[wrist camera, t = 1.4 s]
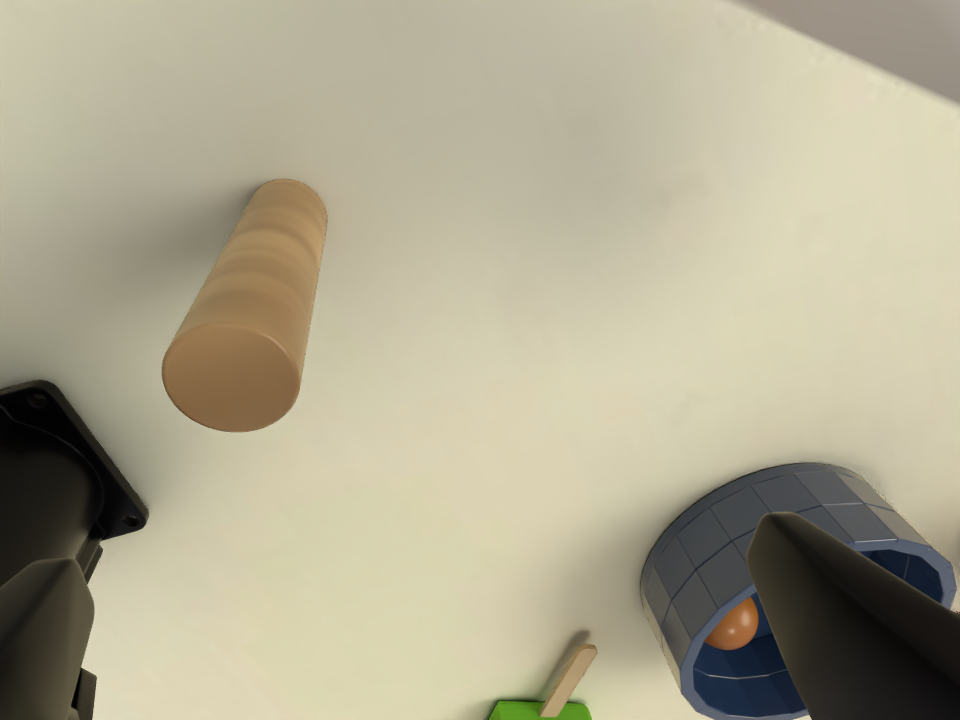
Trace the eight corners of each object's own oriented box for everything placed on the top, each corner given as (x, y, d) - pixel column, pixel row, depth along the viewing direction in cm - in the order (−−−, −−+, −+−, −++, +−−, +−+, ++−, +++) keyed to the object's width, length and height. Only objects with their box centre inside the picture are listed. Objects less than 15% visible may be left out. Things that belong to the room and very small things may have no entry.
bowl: (629, 507, 26) (673, 594, 23) (896, 431, 27) (984, 504, 23) (649, 663, 33) (686, 751, 29) (864, 601, 33) (929, 680, 29)
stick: (236, 190, 17) (133, 344, 10) (311, 169, 17) (269, 307, 10) (267, 260, 18) (198, 448, 11) (338, 240, 18) (318, 414, 11)
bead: (675, 575, 28) (705, 632, 26) (736, 558, 28) (773, 613, 26) (678, 614, 30) (707, 671, 28) (736, 597, 30) (771, 653, 28)
